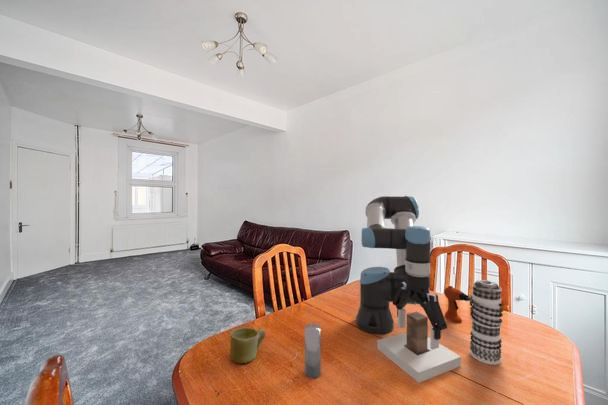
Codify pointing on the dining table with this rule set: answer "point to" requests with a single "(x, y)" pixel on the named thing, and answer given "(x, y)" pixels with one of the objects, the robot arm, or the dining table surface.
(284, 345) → the dining table surface
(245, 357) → the mug
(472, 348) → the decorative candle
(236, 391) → the dining table surface
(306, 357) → the round peg
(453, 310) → the toy drill
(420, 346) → the square peg
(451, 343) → the dining table surface
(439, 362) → the socket plate
